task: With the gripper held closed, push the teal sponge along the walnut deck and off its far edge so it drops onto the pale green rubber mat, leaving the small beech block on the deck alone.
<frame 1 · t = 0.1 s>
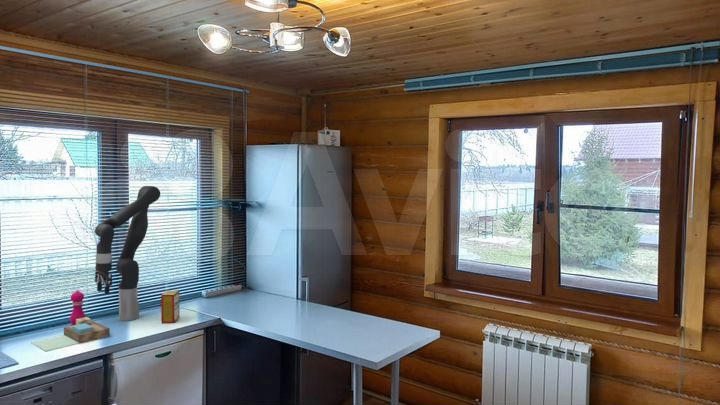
hand: (103, 292, 259), 17 cm above the worktop, tool pointing down, fingers open, 8 cm apart
deck: (86, 335, 241), on the worktop
pepper mill: (78, 327, 255), on the worktop
block: (83, 324, 246), point 4 cm above the worktop, touching deck
baking soda box: (170, 321, 267), on the worktop
teal sponge: (82, 330, 237), point 4 cm above the worktop, touching deck
mat: (55, 343, 230), on the worktop
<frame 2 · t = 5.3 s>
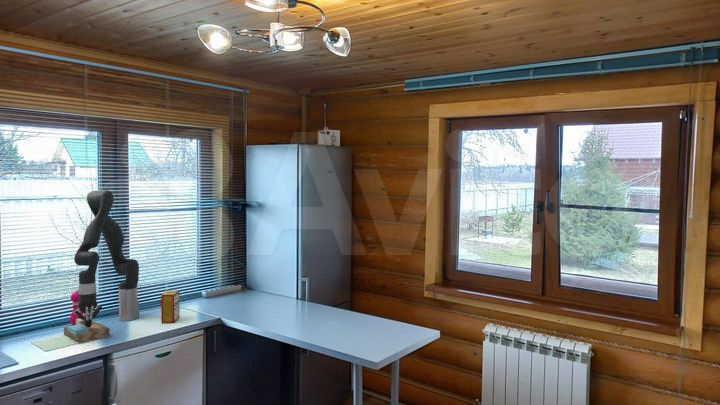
hand: (88, 327, 239), 5 cm above the worktop, tool pointing down, fingers closed
teal sponge: (78, 331, 236), point 4 cm above the worktop
everything else where it was.
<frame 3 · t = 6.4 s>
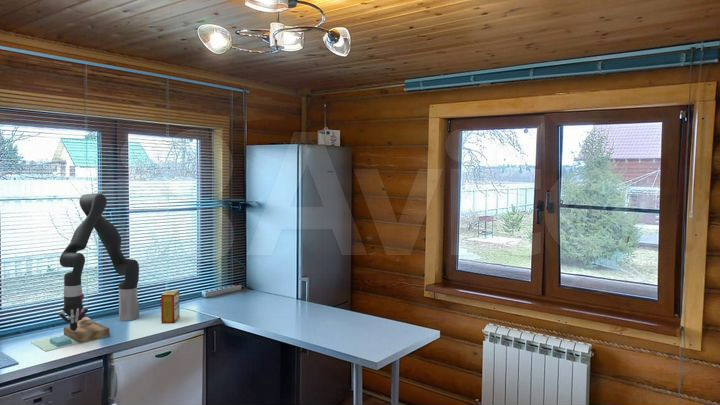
hand: (73, 330, 234), 5 cm above the worktop, tool pointing down, fingers closed
teal sponge: (60, 338, 229), point 2 cm above the worktop, tilted 180°, touching mat
everything else where it was.
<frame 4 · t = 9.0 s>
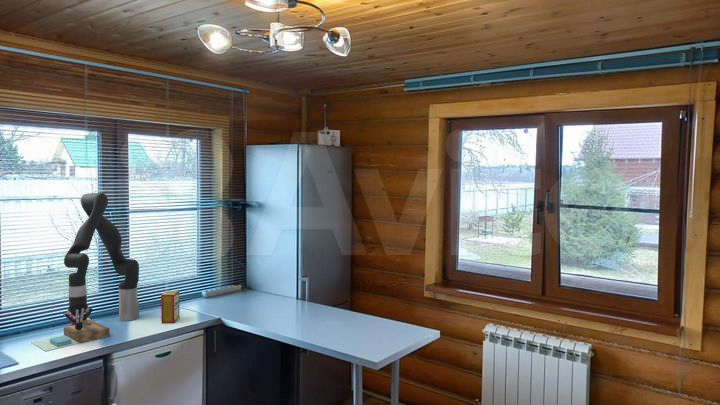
hand: (78, 329, 236), 5 cm above the worktop, tool pointing down, fingers closed
nothing on the worktop moved.
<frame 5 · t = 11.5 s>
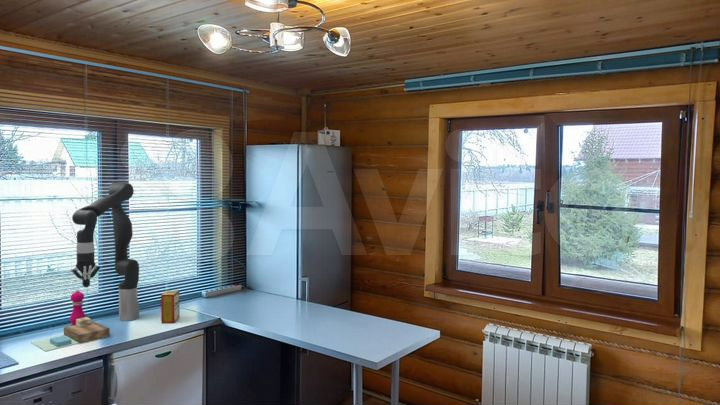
hand: (86, 286, 237), 25 cm above the worktop, tool pointing down, fingers closed
nothing on the worktop moved.
at the end: teal sponge point 2.3 cm above the worktop; teal sponge inside the target area on the mat (3.3 cm from its centre), point 2.3 cm above the mat's base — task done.
